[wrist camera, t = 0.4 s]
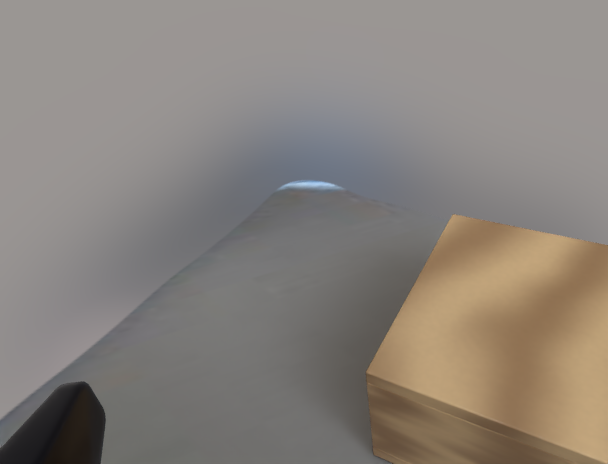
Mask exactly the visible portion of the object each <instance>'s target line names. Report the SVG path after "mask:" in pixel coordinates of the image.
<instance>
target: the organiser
mask: <svg viewBox="0 0 608 464" xmlns="http://www.w3.org/2000/svg"><path fill="white" fill-rule="evenodd" d="M366 380H367V391H368V402H369V412H370V423H371V433H372V444H373V454H374V455H376V456H378V457H380V458H382V459H385V460H387V461H389V462H391V463H393V464H608V245H604V244H599V243H594V242H589V241H584V240H579V239H574V238H569V237H564V236H559V235H554V234H549V233H544V232H539V231H534V230H530V229H525V228H519V227H515V226H510V225H504V224H500V223H495V222H490V221H485V220H480V219H475V218H470V217H465V216H460V215H455V214H453V215H452V216H451V218H450V220H449V222H448V224H447V225H446V227H445V229H444V231H443V233H442V235H441V236H440V238H439V240H438V242H437V244H436V245H435V247H434V249H433V251H432V253H431V255H430V256H429V258H428V260H427V262H426V264H425V265H424V267H423V269H422V271H421V273H420V275H419V276H418V278H417V280H416V282H415V284H414V285H413V287H412V289H411V291H410V293H409V295H408V296H407V298H406V300H405V302H404V304H403V305H402V307H401V309H400V311H399V313H398V315H397V316H396V318H395V320H394V322H393V324H392V325H391V327H390V329H389V331H388V333H387V335H386V336H385V338H384V340H383V342H382V344H381V345H380V347H379V349H378V351H377V353H376V355H375V356H374V358H373V360H372V362H371V364H370V365H369V367H368V369H367V371H366Z"/></svg>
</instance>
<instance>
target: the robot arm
mask: <svg viewBox="0 0 608 464" xmlns="http://www.w3.org/2000/svg"><path fill="white" fill-rule="evenodd" d="M105 422H106V419H105V412H104V409H103V407H102V405H101V404H100V402H99V400H98V399H97V397H96V395H95V394H94V392H93V391H92V389H91V387H90V386H89V384H87V383H86V382H74V383H66V384H63V385H60V386H59V387H58V388H57V389H56V390H55V391H54V392H53V393H52V394H51V395H50V396H49V397H48V398H47V399H46V400H45V401H44V402H43V404H42V405H41V406H40V407H39V408H38V409H37V410H36V411H35V412H34V413H33V414H32V415H31V416H30V417H29V419H28V420H27V421H26V422H25V423H24V424H23V425H22V426H21V427H20V428H19V429H18V430H17V431H16V432H15V434H14V435H13V436H12V437H11V438H10V439H9V440H8V441H7V442H6V443H5V444H4V445H3V446H2V447H1V448H0V464H101V456H102V447H103V439H104V431H105Z"/></svg>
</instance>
